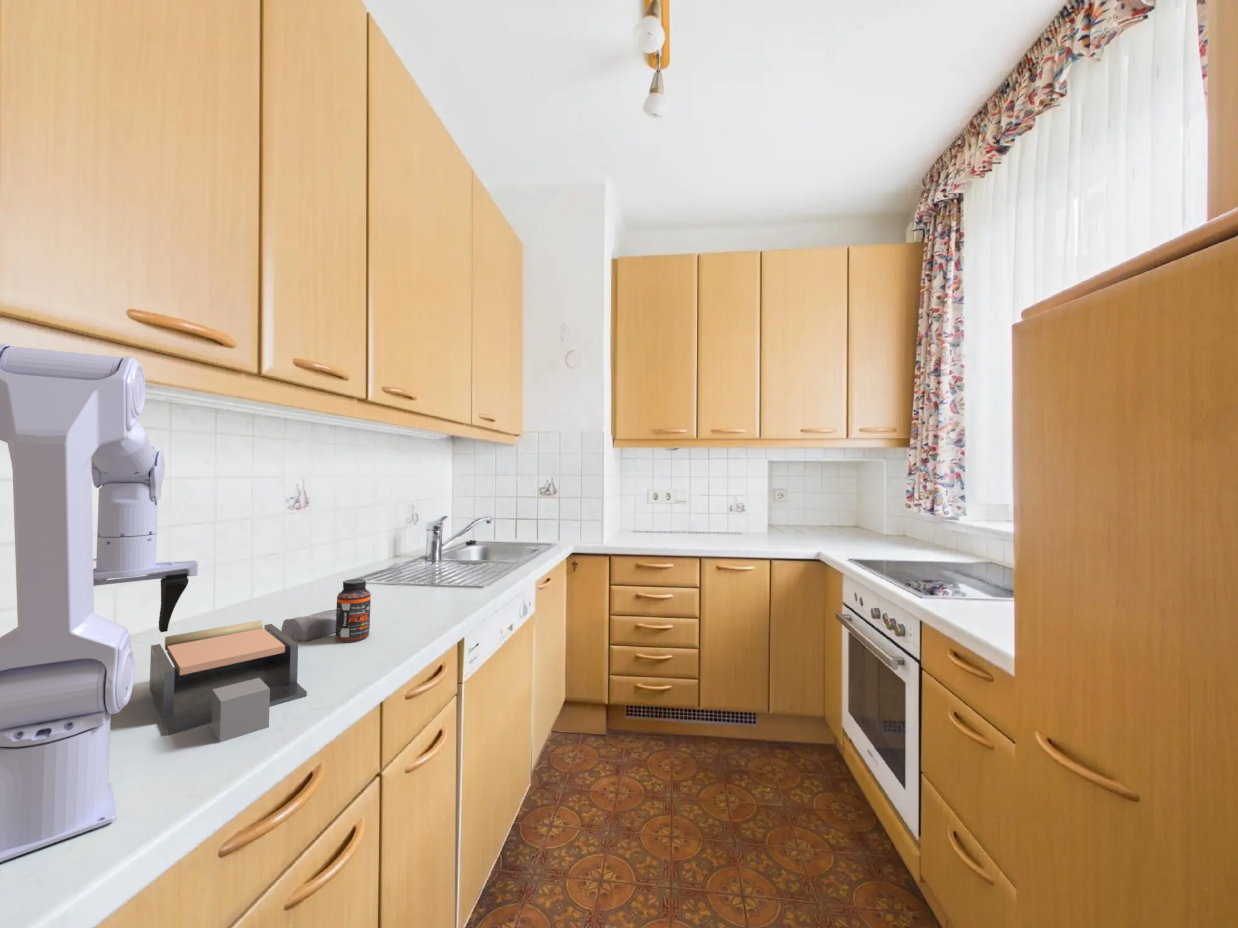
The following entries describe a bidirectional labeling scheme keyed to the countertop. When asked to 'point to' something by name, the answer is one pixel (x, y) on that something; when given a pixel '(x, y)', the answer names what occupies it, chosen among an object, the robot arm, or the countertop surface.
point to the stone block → (310, 626)
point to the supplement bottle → (353, 611)
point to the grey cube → (240, 709)
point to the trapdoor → (221, 647)
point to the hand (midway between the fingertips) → (124, 636)
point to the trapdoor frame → (219, 683)
